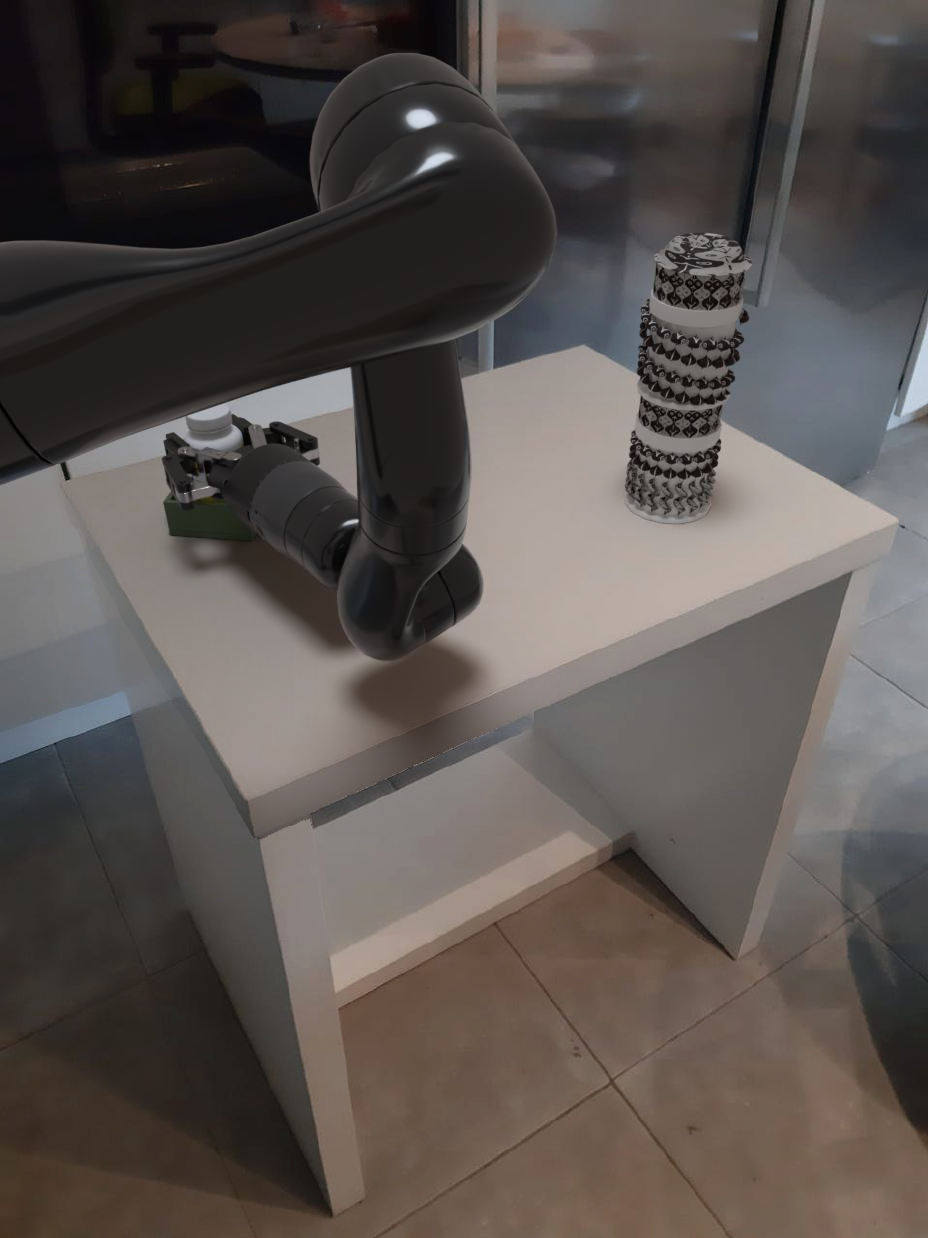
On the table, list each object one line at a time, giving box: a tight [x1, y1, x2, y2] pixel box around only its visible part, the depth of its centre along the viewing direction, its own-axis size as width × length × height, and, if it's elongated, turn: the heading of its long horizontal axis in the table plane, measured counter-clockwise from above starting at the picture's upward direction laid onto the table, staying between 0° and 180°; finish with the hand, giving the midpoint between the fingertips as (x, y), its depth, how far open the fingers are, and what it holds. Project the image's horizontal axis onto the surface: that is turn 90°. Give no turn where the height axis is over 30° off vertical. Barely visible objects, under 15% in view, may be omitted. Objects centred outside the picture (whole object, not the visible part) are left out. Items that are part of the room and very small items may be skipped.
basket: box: [162, 491, 257, 542], centre depth 93 cm, size 8×8×4 cm
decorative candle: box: [624, 232, 753, 525], centre depth 89 cm, size 9×9×25 cm
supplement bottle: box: [182, 403, 244, 504], centre depth 91 cm, size 5×5×10 cm
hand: (200, 433), depth 91 cm, fingers closed on supplement bottle, 5 cm apart
